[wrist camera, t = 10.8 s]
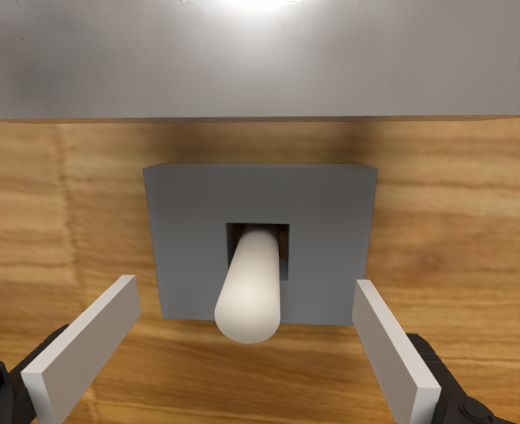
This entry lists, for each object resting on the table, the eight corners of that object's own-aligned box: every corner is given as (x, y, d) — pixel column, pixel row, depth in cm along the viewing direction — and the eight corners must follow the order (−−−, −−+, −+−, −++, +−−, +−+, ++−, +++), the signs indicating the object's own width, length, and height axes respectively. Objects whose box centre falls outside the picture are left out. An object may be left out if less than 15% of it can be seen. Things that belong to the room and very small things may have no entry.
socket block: (177, 293, 28) (162, 318, 24) (163, 162, 24) (142, 168, 20) (346, 299, 27) (358, 326, 23) (361, 163, 23) (378, 169, 19)
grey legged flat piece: (149, 129, 23) (-62, 119, 9) (129, -35, 20) (-269, -497, 5) (376, 128, 22) (569, 114, 8) (397, -47, 19) (820, -680, 4)
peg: (242, 251, 26) (216, 342, 15) (241, 217, 25) (212, 286, 14) (278, 252, 26) (279, 345, 15) (278, 218, 25) (280, 289, 13)
